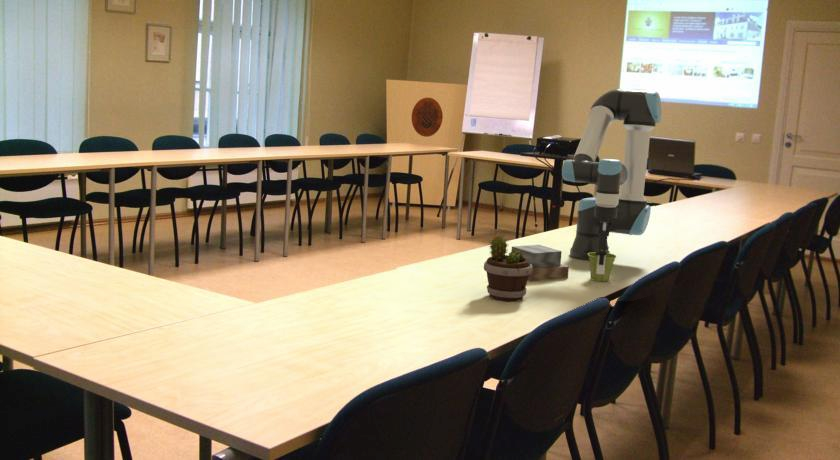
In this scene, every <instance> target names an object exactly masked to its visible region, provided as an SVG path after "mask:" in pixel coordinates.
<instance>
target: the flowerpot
mask: <svg viewBox="0 0 840 460" xmlns="http://www.w3.org/2000/svg"><path fill="white" fill-rule="evenodd" d="M503 236H504V233H503V234H500V233H499V232H498V231H497V234H496V235H494V236H493V238H492V239H491V240H490V242H488V243H489V247H488V249H489V252H490V256H489V257H488V258H487V260H486V261H485V262H484V263H483V270H484V272H486V277H487V283H488V284H487V285H486V289H487V293H488V295H489V297H490V298H491V299H495V300H498V301H501V300H502V301H503V302H504V301H505V302H512V301H513V302H517V301H521V300H523V298H524V297H525V296H526V293H527V291H528V289H527V287H526V286H527V285H528V282H529V281H528V277H529V275H530V274H531V273H532V270H533V266H532V264H530V262H529V260H528V259H527V258H525V257H523V255H522V253H520V252H519V250H517V248H515V249H514V250H517V251H514V250H513V251H512V250H510V252H508V249H507V248H508V242H509V241H508V240H507V239H505V237H503ZM520 250H522V249H520ZM502 301H501V302H502Z"/></svg>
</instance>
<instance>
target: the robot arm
mask: <svg viewBox="0 0 840 460" xmlns="http://www.w3.org/2000/svg"><path fill="white" fill-rule="evenodd" d="M661 100H662V99H661V97H660V93H659V92H657V91H656V90H649V89H632V88H631V89H629V88H625V89H623V88H615V89H612V90H611V89H610V90H609V91H607V92H605V93H603V94H602V95H601V96H599V97H598V98H597V99H596V100H595V101H594V103H592V105H591V107H590V109H589V111H588V121H587V124H586V126H585V129H584V131H583V133H582V136H581V137H580V141H579V143H578V146H577V148H576V151H575V153H574V155H573V158H572V159H565V160H564V162H563V163H562V168H561V176H562V179H563V180H564V181H567V182H571V183H584V184H595V185H596V189H595V190H596V194H594V195H593V197H586V198H582V199H581V200H580V201H579V202H578V207H577V218H576V229H575V230H576V231H575V233H576V234H575V237H574V240H573V242H572V247H570V250H569V256H570V257H572V258H576V259H580V260H586V261H588V260H589V256H588V253H591V252H596V255H598V258H597V269H596V274H604V273H605V262H606V253H610V254H611V252H610V250H609V248H610V246H609V244H608V237H609V236H610V233H613V234H614V233H615V234H622V235H629V236H642V235H643V234H644V233H645V231H646V230H647V227H648V224H649V221H650V217H651V210H652V209H651V208H652V207H651V205H649V204H648V199H646V197H645V195H644V193H645V183H646V175H647V166H648V155H649V148H650V140H651V132H652V131H653V130H654V129H655V128H656V124H658V123H660V122H661V119H662V118H661V117H662V103H661ZM614 121H623V123H622V126H623V127H624V128H625V130H626V136H625V145H624V154H623V163H622V161H621V160H620V159H612V158H601V159H600V160H599V161H598V162H597V161H596V159H597V157H598V154H599V151H600V149H601V146H602V143H603V141H604V139H605V136H606V134H607V131H608V128H609V126H611V125H612V124H613V123H614ZM589 261H590V260H589Z"/></svg>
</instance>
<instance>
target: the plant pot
mask: <svg viewBox="0 0 840 460" xmlns="http://www.w3.org/2000/svg"><path fill="white" fill-rule="evenodd" d="M588 256H589V270H590V280H593V281H596V282H603V283H604V282H608V281H610V277H611V273H612V268H613V266H614V262H615V259H616V258H617V255H615V254H614V253H611V252H610V253H606V262H605V273H604V274H596V269H597V258H598V255H596V252H591V253H588Z"/></svg>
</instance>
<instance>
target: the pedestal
mask: <svg viewBox="0 0 840 460" xmlns="http://www.w3.org/2000/svg"><path fill="white" fill-rule="evenodd" d="M515 248H517V250H519V252H520V253H522V255H523V257H525V258H527V259H528V260H529V262H530V264H532V266H533V270H532V273H531V274H530V275H529V277H528V281H527V282H539V281H540V282H541V281H552V280H560V279H568V278H569V269H570V267H569V266H568V265H566V264H563V263H562V254H563V253H562V252H563V251H562V250H558V249H557V248H556V249H555V248H552V247H549V246H545V245H541V244H530V245H529V244H528V245H517V246H511V251H513V250H514V249H515ZM520 249H522V250H520ZM517 250H514V251H517Z"/></svg>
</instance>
